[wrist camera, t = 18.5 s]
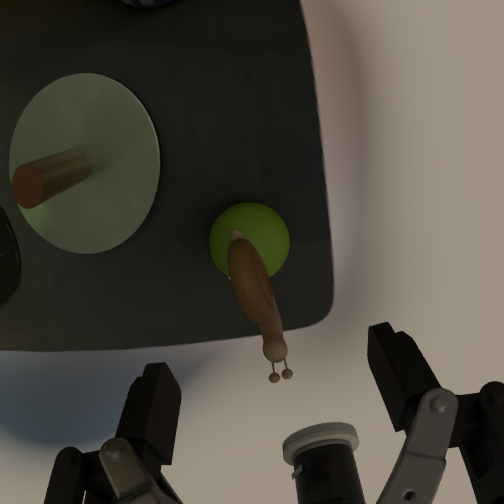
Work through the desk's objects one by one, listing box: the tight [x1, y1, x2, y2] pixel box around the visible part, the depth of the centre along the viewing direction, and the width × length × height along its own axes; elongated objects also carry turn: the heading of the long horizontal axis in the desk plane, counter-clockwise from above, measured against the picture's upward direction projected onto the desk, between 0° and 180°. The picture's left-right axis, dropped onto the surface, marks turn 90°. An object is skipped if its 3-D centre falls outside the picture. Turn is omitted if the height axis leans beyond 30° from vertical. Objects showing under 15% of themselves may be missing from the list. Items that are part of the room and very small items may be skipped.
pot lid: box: [9, 73, 162, 254], centre depth 17 cm, size 15×15×7 cm
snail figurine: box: [209, 202, 293, 383], centre depth 18 cm, size 5×6×12 cm
